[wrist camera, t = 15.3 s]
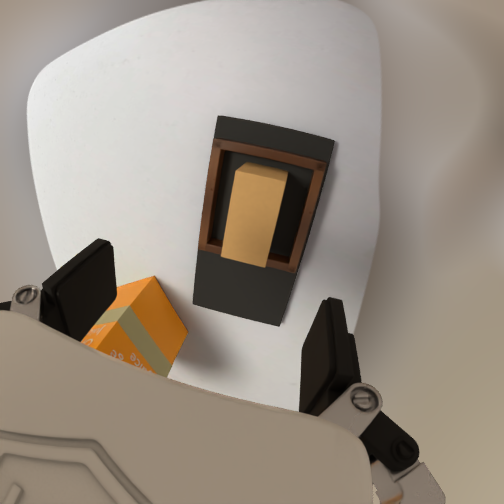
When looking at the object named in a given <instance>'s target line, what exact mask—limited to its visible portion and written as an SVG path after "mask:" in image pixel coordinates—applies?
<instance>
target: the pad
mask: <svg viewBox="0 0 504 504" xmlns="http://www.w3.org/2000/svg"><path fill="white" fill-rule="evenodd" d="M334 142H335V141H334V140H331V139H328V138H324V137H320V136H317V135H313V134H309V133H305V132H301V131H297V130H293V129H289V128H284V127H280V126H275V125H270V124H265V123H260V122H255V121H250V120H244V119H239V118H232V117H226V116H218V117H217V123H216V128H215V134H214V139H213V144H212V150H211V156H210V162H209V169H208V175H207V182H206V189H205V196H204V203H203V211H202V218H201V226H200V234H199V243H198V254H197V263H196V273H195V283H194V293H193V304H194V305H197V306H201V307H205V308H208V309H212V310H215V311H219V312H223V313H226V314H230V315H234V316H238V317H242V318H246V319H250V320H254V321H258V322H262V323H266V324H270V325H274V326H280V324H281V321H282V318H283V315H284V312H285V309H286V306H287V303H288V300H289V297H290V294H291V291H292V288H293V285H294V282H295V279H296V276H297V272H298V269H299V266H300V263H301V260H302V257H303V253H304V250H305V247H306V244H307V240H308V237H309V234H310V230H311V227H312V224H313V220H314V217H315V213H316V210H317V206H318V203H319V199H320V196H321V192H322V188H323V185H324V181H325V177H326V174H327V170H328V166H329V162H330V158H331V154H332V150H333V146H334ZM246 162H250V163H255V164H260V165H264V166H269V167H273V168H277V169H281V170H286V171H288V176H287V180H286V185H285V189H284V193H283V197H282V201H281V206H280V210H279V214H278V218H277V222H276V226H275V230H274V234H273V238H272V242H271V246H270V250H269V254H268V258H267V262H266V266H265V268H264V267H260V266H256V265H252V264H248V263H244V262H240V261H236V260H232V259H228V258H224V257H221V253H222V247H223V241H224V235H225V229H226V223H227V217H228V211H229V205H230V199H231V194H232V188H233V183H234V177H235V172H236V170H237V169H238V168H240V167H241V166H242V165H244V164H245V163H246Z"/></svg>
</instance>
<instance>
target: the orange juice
mask: <svg viewBox="0 0 504 504" xmlns="http://www.w3.org/2000/svg"><path fill="white" fill-rule="evenodd" d="M187 334H188V331H187V329H186V328H185V326H184V325H183V323H182V321H181V320H180V318H179V317H178V315H177V313H176V312H175V310H174V308H173V307H172V305H171V304H170V302H169V300H168V299H167V297H166V295H165V293H164V292H163V290H162V288H161V287H160V285H159V283H158V281H157V280H156V278H155V276H152V277H149V278H145V279H142V280H139V281H136V282H132V283H129V284H126V285H123V286H120V287H117V297H116V299H115V301H114V302H113V303H112V304H111V305H110V307H109V308H108V309H107V310H106V311H105V313H104V314H103V315H102V316H101V317H100V319H99V320H98V321H97V322H96V323H95V325H94V326H93V327H92V328H91V330H90V331H89V332H88V333H87V335H86V336H85V337H84V338H83V340H82V341H81V343H83V344H85V345H87V346H89V347H91V348H94V349H96V350H98V351H100V352H102V353H105V354H107V355H109V356H112V357H114V358H116V359H119V360H121V361H124V362H126V363H129V364H131V365H134V366H136V367H139V368H141V369H144V370H147V371H149V372H152V373H155V374H158V375H161V376H163V377H166V378H167V376H168V374H169V372H170V369H171V367H172V364H173V362H174V360H175V358H176V356H177V354H178V352H179V350H180V348H181V346H182V344H183V342H184V340H185V338H186V336H187Z"/></svg>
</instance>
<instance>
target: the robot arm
mask: <svg viewBox="0 0 504 504" xmlns="http://www.w3.org/2000/svg"><path fill="white" fill-rule="evenodd" d="M42 286H43V289H42V290H41V291H40V289H39V288H38V287H37V286H34V285H26V286H23V287H21V288H19V289H18V290H16V292H15V293H14V294H13V297H12V301H8V302H3V303H0V504H373V484H374V485H375V487H376V489H377V490H378V491H376V494H377V495H378V497H379V500H380V504H445V495H444V493H443V491H442V490H441V488H440V486H439V485H438V483H437V482H436V480H435V479H434V477H433V476H432V474H431V473H430V471H429V470H428V468H427V467H426V465H425V463H424V462H422V463H420V462H419V460H418V457H419V447H418V445H417V443H416V441H415V440H414V439H413V438H412V437H410V436H409V435H408V434H407V433H406V432H405V431H404V430H402V429H401V428H400V427H399V426H398V425H397V424H396V423H394V422H393V421H392V420H391V419H390V418H389V417H388V416H386V415H385V414H384V413H383V412H382V411H381V407H382V402H383V401H382V397H381V395H380V393H379V392H378V391H377V390H376V389H375V388H374V387H373V386H371V385H369V384H365V383H362V382H361V376H360V368H359V362H358V356H357V351H356V344H355V338H354V335H353V334H351V333H348V330H347V324H346V318H345V312H344V307H343V302H342V300H340V299H335V298H331V297H329V298H328V299H327V300H323V301H322V303H321V305H320V307H319V310H318V312H317V314H316V317H315V319H314V321H313V324H312V326H311V328H310V331H309V333H308V335H307V337H306V339H305V342H304V344H303V347H302V355H301V382H300V401H299V412H297V411H292V410H288V409H283V408H278V407H273V406H269V405H264V404H260V403H255V402H251V401H247V400H243V399H238V398H234V397H230V396H226V395H223V394H219V393H215V392H211V391H208V390H204V389H201V388H198V387H194V386H191V385H188V384H185V383H181V382H178V381H175V380H172V379H169V378H166V377H163V376H161V375H158V374H155V373H152V372H149V371H147V370H144V369H141V368H139V367H136V366H134V365H131V364H129V363H126V362H124V361H121V360H119V359H116V358H114V357H112V356H109V355H107V354H105V353H102V352H100V351H98V350H96V349H94V348H91V347H89V346H87V345H85V344H83V343H81V341H82V340H83V338H84V337H85V336H86V335H87V333H88V332H89V331H90V330H91V328H92V327H93V326H94V325H95V323H96V322H97V321H98V320H99V319H100V317H101V316H102V315H103V314H104V313H105V311H106V310H107V309H108V308H109V307H110V305H111V304H112V303H113V302H114V301H115V299H116V297H117V287H116V277H115V265H114V251H113V246H112V245H111V243H110V242H109V241H107V240H103V239H99V238H98V239H97V240H95V241H94V242H93V243H91V244H90V245H89V246H87V247H86V248H85V249H83V250H82V251H81V252H80V253H78V254H77V255H76V256H75V257H73V258H72V259H71V260H70V261H68V262H67V263H66V264H65V265H63V266H62V267H61V268H60V269H59V270H57V271H56V272H55V273H54V274H53V275H51V276H50V277H49V278H48V279H47V280H46V281H44V282H43V283H42Z"/></svg>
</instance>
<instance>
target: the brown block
mask: <svg viewBox="0 0 504 504" xmlns="http://www.w3.org/2000/svg"><path fill="white" fill-rule="evenodd" d="M287 176H288V171H286V170H281V169H277V168H273V167H269V166H264V165H260V164H255V163H250V162H246V163H245V164H244V165H242V166H241V167H240V168H238V169H237V170H236V172H235V177H234V183H233V188H232V194H231V199H230V205H229V211H228V217H227V223H226V229H225V235H224V241H223V247H222V253H221V257H224V258H228V259H232V260H236V261H240V262H244V263H248V264H252V265H256V266H260V267H264V268H265V266H266V262H267V258H268V254H269V250H270V246H271V242H272V238H273V234H274V230H275V226H276V222H277V218H278V214H279V210H280V206H281V201H282V197H283V193H284V189H285V185H286V180H287Z"/></svg>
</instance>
